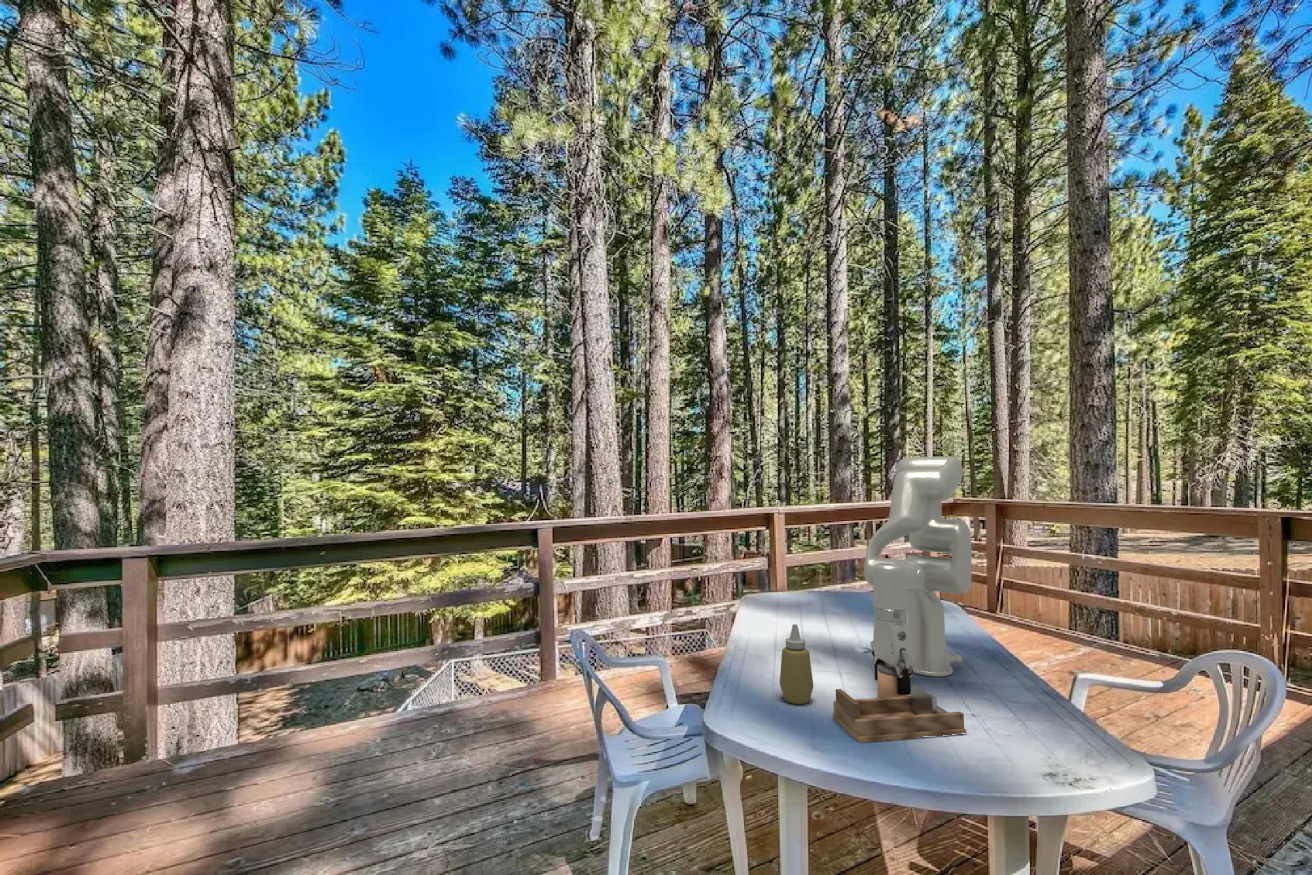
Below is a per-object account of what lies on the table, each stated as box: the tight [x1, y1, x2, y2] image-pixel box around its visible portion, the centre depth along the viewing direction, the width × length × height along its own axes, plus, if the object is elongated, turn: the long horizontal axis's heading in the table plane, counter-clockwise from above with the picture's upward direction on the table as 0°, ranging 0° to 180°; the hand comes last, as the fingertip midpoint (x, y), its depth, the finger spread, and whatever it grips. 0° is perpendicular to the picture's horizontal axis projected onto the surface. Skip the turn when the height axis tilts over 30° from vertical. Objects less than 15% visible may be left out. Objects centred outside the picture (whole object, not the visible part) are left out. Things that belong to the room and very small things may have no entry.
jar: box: [877, 662, 910, 698], centre depth 135 cm, size 7×7×8 cm
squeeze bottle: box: [779, 623, 814, 705], centre depth 136 cm, size 8×8×18 cm
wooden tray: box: [832, 688, 967, 744], centre depth 121 cm, size 24×12×7 cm, turn 98°
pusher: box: [910, 684, 946, 715], centre depth 122 cm, size 3×8×6 cm, turn 8°
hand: (892, 686), depth 135 cm, fingers open, 9 cm apart
